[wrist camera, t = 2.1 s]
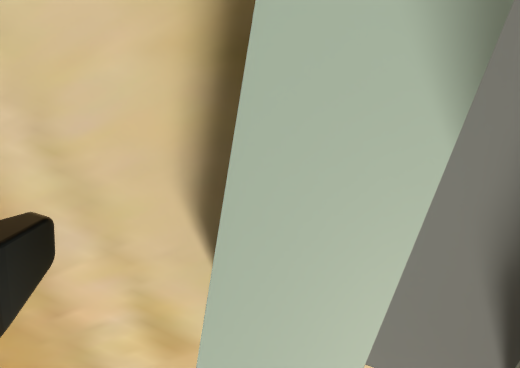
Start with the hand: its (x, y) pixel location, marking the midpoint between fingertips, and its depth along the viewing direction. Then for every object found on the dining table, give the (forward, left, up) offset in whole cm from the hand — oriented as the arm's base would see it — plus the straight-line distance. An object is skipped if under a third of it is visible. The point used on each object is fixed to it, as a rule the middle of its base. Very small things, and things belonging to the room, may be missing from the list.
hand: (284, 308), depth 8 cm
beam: (0, 0, -6) cm, 6 cm away
